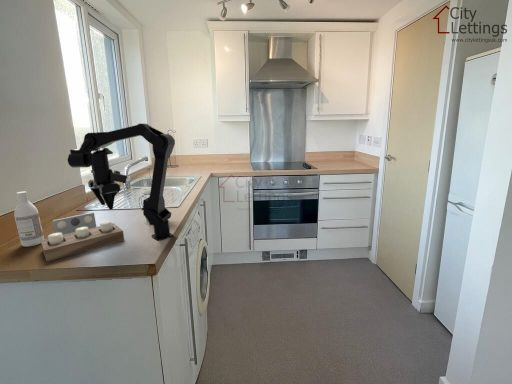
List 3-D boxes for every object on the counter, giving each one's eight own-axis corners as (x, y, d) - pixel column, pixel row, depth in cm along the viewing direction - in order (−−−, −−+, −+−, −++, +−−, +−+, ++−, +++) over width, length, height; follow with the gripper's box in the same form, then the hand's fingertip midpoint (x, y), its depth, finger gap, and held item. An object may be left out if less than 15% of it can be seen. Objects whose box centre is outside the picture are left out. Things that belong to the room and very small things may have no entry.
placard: (97, 231, 116) (94, 212, 114) (56, 240, 107) (52, 221, 105) (96, 230, 117) (93, 212, 115) (56, 239, 108) (52, 220, 106)
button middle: (91, 238, 101) (89, 228, 100) (78, 242, 98) (76, 231, 97) (88, 235, 104) (86, 225, 103) (76, 238, 101) (74, 228, 100)
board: (124, 240, 105) (122, 230, 104) (46, 261, 90) (44, 250, 89) (115, 232, 114) (113, 223, 113) (42, 250, 98) (40, 239, 97)
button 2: (114, 232, 106) (113, 223, 105) (103, 235, 104) (101, 225, 103) (111, 230, 109) (110, 220, 108) (100, 233, 106) (98, 223, 106)
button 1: (65, 245, 96) (62, 234, 95) (51, 249, 93) (48, 237, 92) (63, 242, 99) (61, 231, 98) (49, 245, 96) (47, 234, 95)
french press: (159, 225, 120) (152, 168, 115) (135, 224, 123) (128, 168, 117) (170, 218, 130) (165, 165, 124) (148, 217, 132) (141, 165, 126)
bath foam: (46, 242, 105) (35, 191, 101) (23, 248, 100) (10, 195, 96) (42, 238, 110) (31, 189, 105) (20, 243, 105) (7, 192, 100)
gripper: (132, 166, 102) (137, 206, 105) (115, 162, 115) (120, 199, 118) (98, 170, 94) (106, 213, 98) (84, 166, 107) (91, 204, 111)
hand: (107, 207), depth 106 cm, fingers open, 9 cm apart
